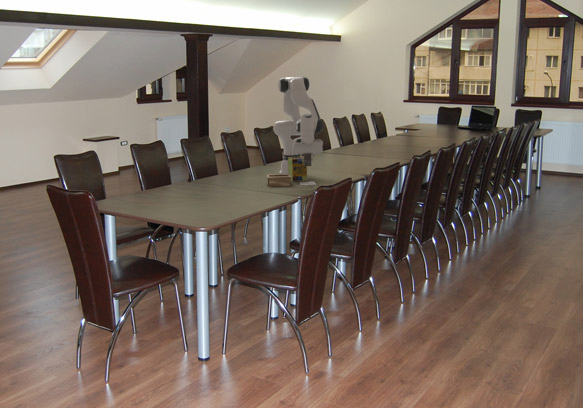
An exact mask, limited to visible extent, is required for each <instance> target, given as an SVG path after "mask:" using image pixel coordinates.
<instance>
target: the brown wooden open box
mask: <svg viewBox="0 0 583 408" xmlns="http://www.w3.org/2000/svg"><path fill="white" fill-rule="evenodd" d="M266 184H267V186H268V187H275V186H276V187H278V186H279V187H284V186H285V187H286V186H291V187H292V180H291V176H290V174H279V173H275V174H274V173H273V174H269V173H268V174H267V175H266Z"/></svg>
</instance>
